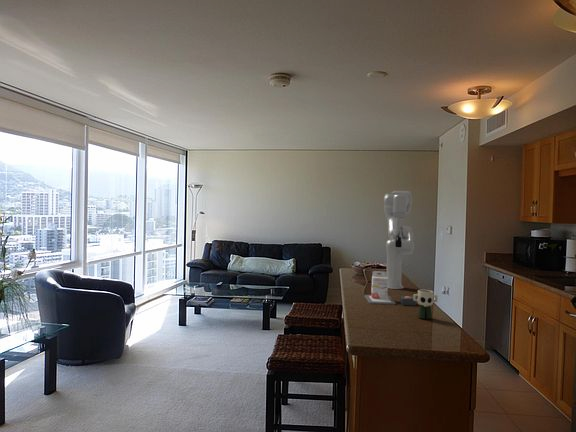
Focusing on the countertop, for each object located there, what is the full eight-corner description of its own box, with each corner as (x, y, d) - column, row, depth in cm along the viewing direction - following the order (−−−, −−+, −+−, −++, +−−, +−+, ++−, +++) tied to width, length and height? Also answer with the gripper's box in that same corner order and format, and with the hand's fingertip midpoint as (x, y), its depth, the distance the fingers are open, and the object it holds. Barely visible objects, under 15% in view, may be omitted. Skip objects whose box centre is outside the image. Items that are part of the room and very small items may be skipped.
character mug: (413, 319, 196) (414, 291, 195) (411, 315, 203) (412, 288, 202) (438, 321, 194) (439, 293, 193) (435, 317, 201) (436, 290, 200)
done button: (403, 299, 229) (403, 296, 229) (410, 300, 229) (410, 296, 229) (405, 301, 225) (405, 297, 225) (411, 301, 225) (412, 297, 225)
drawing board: (364, 296, 243) (364, 294, 243) (389, 297, 242) (389, 295, 242) (369, 303, 225) (369, 301, 225) (395, 304, 224) (395, 302, 224)
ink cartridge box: (372, 298, 234) (373, 272, 233) (371, 296, 239) (371, 270, 238) (387, 299, 233) (388, 272, 233) (386, 297, 238) (387, 271, 238)
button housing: (399, 302, 231) (399, 295, 231) (412, 302, 231) (412, 296, 230) (402, 305, 224) (402, 298, 224) (415, 305, 224) (416, 299, 223)
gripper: (390, 215, 252) (389, 245, 252) (395, 215, 237) (394, 248, 237) (402, 215, 251) (401, 246, 252) (409, 216, 236) (408, 248, 237)
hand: (398, 247), depth 244 cm, fingers closed
